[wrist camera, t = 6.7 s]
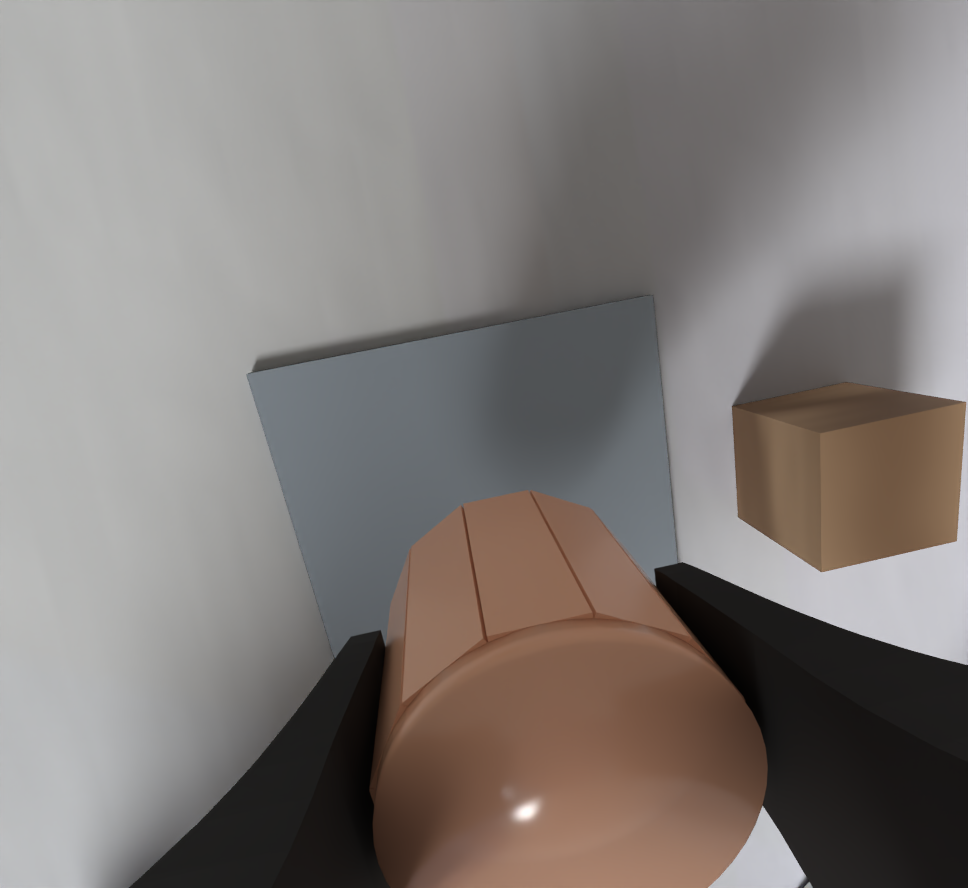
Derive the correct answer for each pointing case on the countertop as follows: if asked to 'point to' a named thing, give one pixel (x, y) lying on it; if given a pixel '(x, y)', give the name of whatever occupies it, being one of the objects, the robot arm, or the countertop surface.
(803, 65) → the countertop surface
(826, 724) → the robot arm
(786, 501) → the walnut block
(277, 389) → the slate mat
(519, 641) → the peach faceted cylinder
